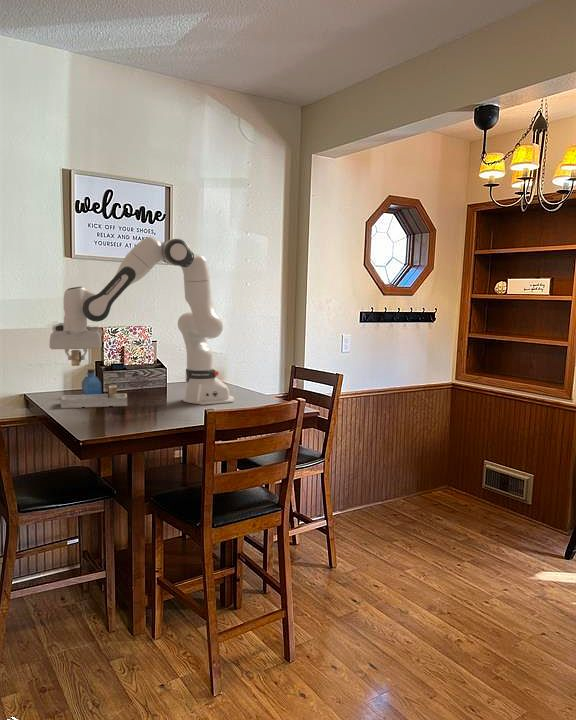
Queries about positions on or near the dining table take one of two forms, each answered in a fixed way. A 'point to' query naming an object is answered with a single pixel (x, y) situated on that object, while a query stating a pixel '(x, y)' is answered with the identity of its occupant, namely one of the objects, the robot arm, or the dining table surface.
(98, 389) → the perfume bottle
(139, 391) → the dining table surface
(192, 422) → the dining table surface
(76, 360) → the finger block
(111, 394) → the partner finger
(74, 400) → the rail
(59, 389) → the dining table surface
